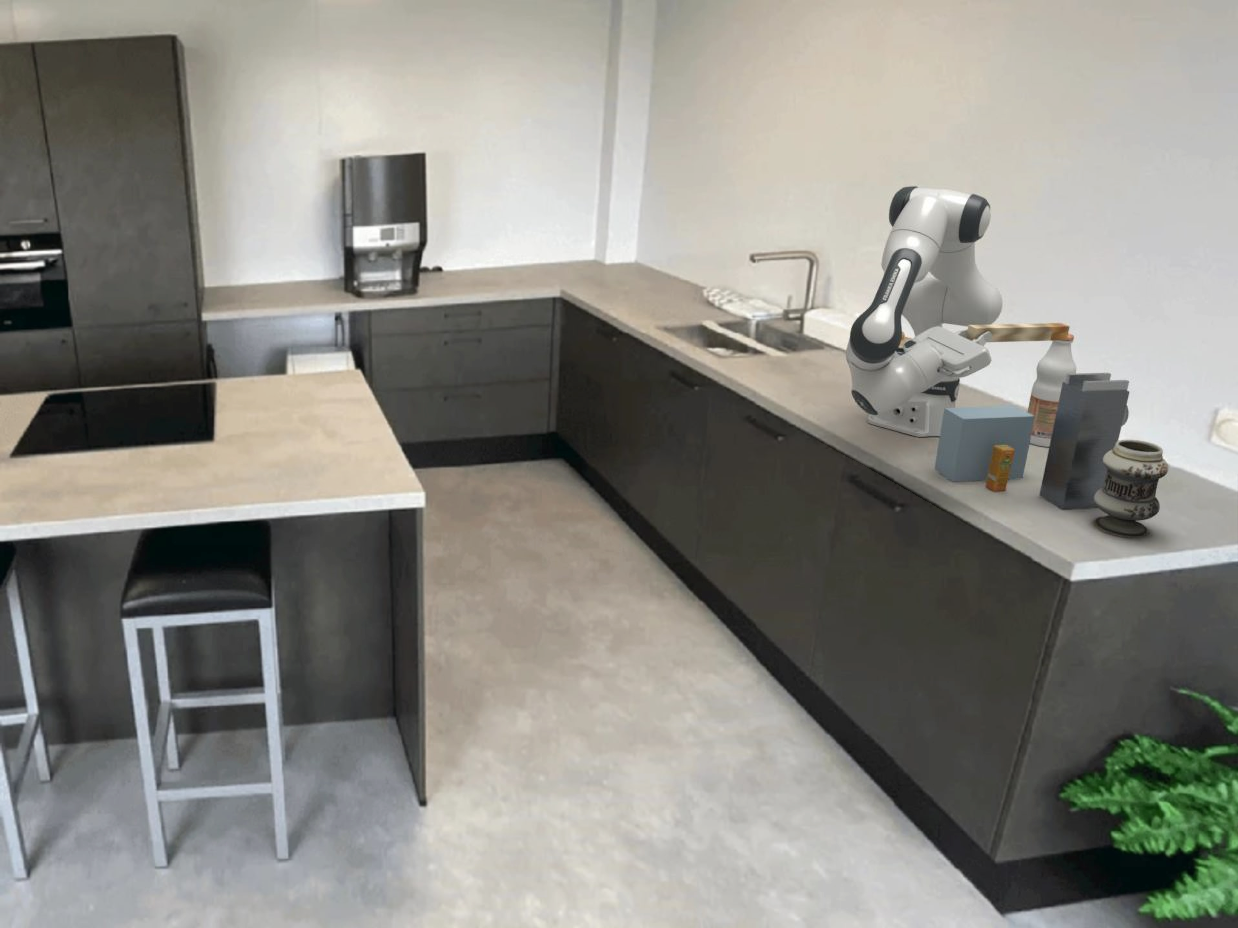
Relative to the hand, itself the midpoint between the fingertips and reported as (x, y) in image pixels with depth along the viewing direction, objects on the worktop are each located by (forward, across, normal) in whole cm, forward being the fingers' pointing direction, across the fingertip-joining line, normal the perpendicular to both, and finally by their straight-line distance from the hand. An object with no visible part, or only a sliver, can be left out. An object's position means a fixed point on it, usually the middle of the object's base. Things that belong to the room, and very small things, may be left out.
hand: (983, 331), depth 206 cm
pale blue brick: (-9, +9, +37) cm, 39 cm away
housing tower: (+1, -9, +42) cm, 43 cm away
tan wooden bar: (+6, 0, +6) cm, 8 cm away
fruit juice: (+17, +28, +52) cm, 61 cm away
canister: (+2, +76, +44) cm, 87 cm away
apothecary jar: (+2, -23, +43) cm, 49 cm away
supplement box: (-10, 0, +36) cm, 38 cm away
